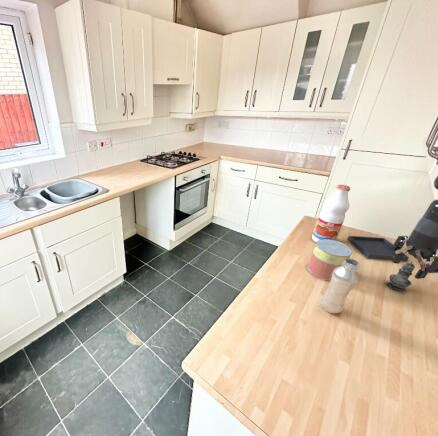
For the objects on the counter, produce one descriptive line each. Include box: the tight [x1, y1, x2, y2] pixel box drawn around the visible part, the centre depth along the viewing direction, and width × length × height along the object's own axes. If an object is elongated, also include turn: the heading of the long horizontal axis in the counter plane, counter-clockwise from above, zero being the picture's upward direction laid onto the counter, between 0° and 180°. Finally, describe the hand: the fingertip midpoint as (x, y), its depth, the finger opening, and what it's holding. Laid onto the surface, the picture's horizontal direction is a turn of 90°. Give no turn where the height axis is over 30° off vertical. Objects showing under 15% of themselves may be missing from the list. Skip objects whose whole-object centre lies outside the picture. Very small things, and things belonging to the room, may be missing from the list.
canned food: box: [307, 239, 353, 281], centre depth 96 cm, size 11×11×12 cm
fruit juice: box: [311, 184, 351, 243], centre depth 111 cm, size 9×9×28 cm
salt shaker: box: [386, 261, 416, 293], centre depth 87 cm, size 6×6×12 cm
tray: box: [347, 235, 410, 262], centre depth 110 cm, size 15×15×2 cm
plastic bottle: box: [319, 258, 360, 315], centre depth 77 cm, size 6×7×20 cm
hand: (406, 270), depth 86 cm, fingers open, 8 cm apart
